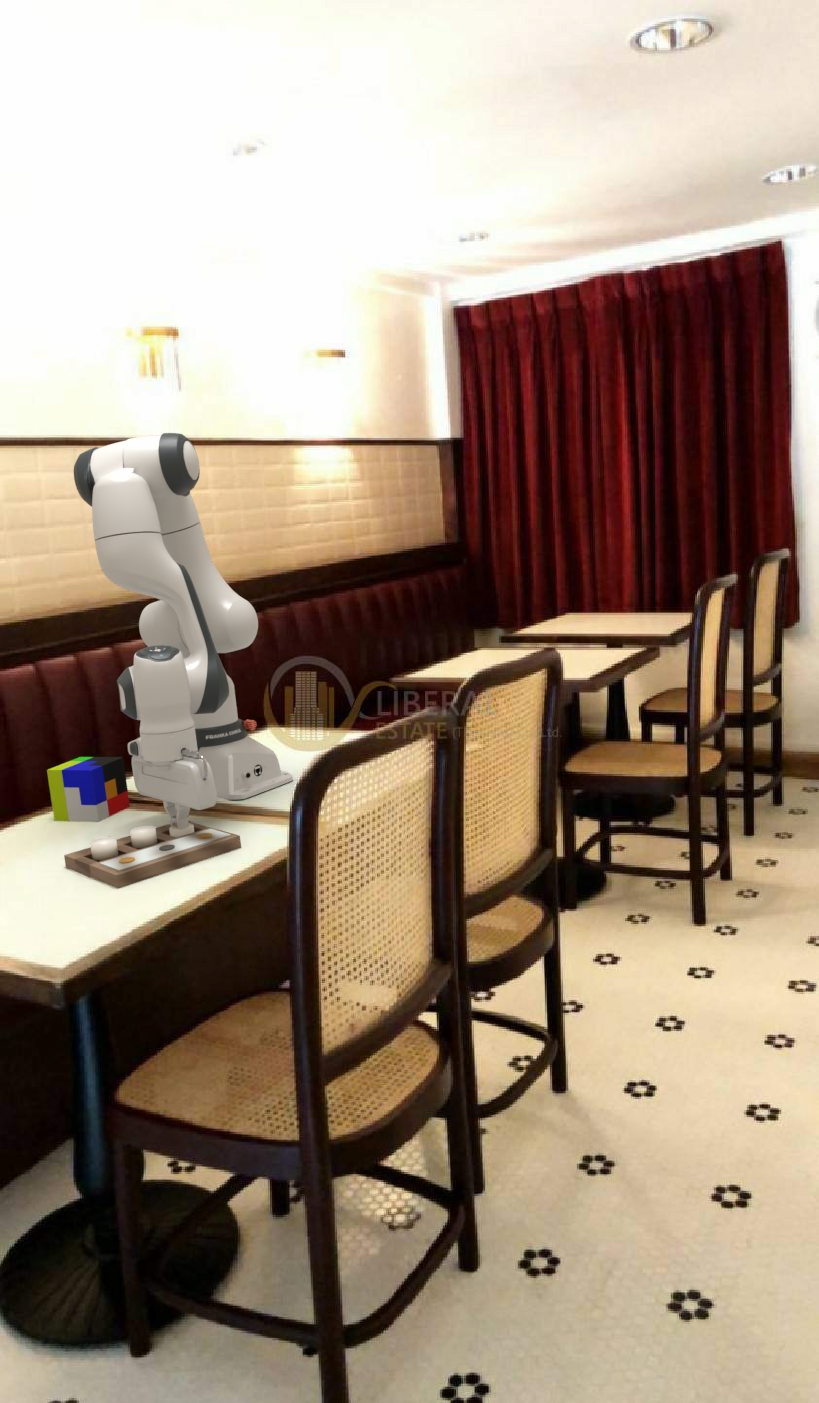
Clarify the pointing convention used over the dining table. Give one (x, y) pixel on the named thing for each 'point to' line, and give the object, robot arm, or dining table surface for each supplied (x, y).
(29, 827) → the dining table surface
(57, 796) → the puzzle toy
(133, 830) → the middle button
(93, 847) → the button
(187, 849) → the console
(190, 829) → the button
